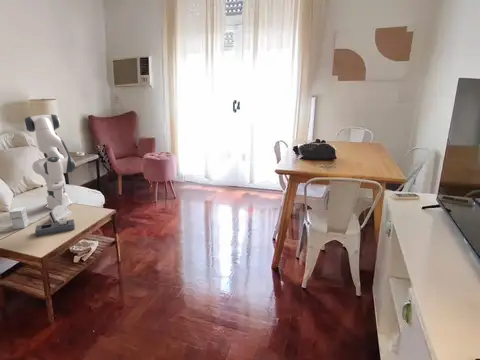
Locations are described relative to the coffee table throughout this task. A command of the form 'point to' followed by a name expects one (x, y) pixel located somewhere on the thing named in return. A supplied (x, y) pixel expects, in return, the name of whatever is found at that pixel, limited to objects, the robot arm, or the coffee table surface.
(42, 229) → the rail
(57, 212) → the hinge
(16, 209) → the supplement box
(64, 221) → the nut block
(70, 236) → the coffee table surface
